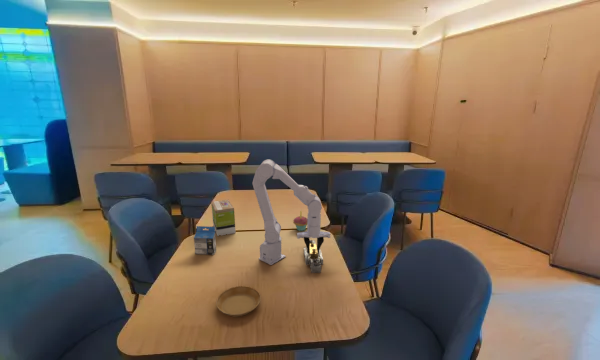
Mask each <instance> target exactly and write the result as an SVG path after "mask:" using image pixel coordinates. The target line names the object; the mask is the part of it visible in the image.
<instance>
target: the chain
mask: <svg viewBox="0 0 600 360" xmlns="http://www.w3.org/2000/svg"><path fill="white" fill-rule="evenodd" d="M311 243H314V244H316V241H315V240H314V239H313V240H312V239H310V244H311ZM303 256H304V263H305V266H309V268H310V273H311V274H318V273H319V274H321V273H322V266H323V265H324V257H323V253H322V250H321V249H320V250H319V253H318V259H316V258H314V259H309V254H308V249H307V246H305V247H303Z"/></svg>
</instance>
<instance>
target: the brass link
mask: <svg viewBox="0 0 600 360" xmlns="http://www.w3.org/2000/svg"><path fill="white" fill-rule="evenodd" d="M314 258H316V259H318V251H317V243H315V244H314V243H311V244H310V254H309V259H314Z"/></svg>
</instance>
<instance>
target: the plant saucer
mask: <svg viewBox="0 0 600 360" xmlns="http://www.w3.org/2000/svg"><path fill="white" fill-rule="evenodd" d="M261 299H262V297H261V294H260V292H259V291H258V290H257V289H256V288H254V287H251V286H246V285H238V286H233V287H230V288H228V289H226V290H224V291H222V292H221V293H220V294H219V296H218V297H217V298H216V302H215V304H216V305H215V306H216V307H217V309H218V310H219V312H221V313H223V314H224V315H226V316H230V317H243V316H245V315H247V314H249V313H251V312H253V311H254V310H256V308H257V306H259V304H260V303H261Z"/></svg>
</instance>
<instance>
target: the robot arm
mask: <svg viewBox="0 0 600 360" xmlns="http://www.w3.org/2000/svg"><path fill="white" fill-rule="evenodd" d="M269 179H273V180H280V181H281V182H282V183H283V184H284V185H286V186H287V187H288V188H290V190H292V191H293V196H295V198H297V199H298V201H300V202H301V203H302V204H303V205H305V206H307V217H306V218H307V226H306V229H307V231H300V232H296V238H297V239H298V240H300V239H303V241H304V244H305V245H306V246H307V247H306V246H305V247H306V250H307V249H308V254H310V240H311V239H316V247H317V251H318V253H319V250H321V246H322V245H323V244H324V241H325V239H324V238H327V239H331V232H330V231H321V222H322V221H321V220H322V218H321V217H322V214H321V213H322V207H323V206H322V201H321V199H320V197H319V196H318V195H316V193H314V194H313V192H311V190H310V189H309V187H308V186H307V185H303V184H298V183H297V182H296V181H295V180H294V179H293V178H292V177H291V176H290V175H289V174H288V173H287V172H286V171H285V170H284V169H283V168H282V167H281V166H280V165H279V164H277V163H276V162H275V161H274V160H272V159H264V160H263V161H262V162H261V164H260V165H259V166H258V167H257V168H256V169H255V173H254V176H253V180H252V183H251V184H252V186H253V191H254V193H255V197H256V199H257V201H256V202H257V203H258V206H259V210H260V212H261V216H262V219H263V224H264V226H263V227H264V231H265V232H264V238H265V239H264V241H263V242H262V243H260V246H259V258H258V260H260V261H262V262H264V263H266V264H268V265H270V266H272V265H274V264H277V262H279V261H281V260H283V259H284V258H286V257H287V255H285V254H282V236H281V235H280V234H281V230H282V226H281V223H279V222H278V220H277V217H275V213H274V210H273V207H272V203H271V200H270V197H269V194H268V190H267V186H266V182H267V180H269Z"/></svg>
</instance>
